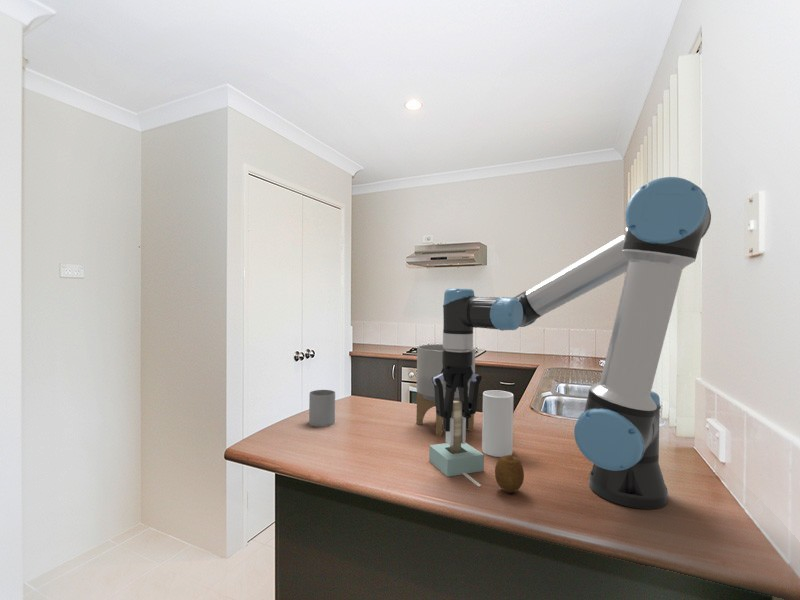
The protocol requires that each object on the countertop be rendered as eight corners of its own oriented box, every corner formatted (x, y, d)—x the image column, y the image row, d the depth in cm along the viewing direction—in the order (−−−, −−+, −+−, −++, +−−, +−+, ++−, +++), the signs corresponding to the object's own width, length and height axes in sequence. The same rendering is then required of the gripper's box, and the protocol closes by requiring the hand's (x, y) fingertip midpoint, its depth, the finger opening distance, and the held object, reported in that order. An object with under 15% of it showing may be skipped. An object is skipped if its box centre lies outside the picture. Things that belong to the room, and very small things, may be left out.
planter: (424, 415, 147) (425, 342, 147) (477, 421, 141) (478, 345, 141) (408, 432, 129) (410, 349, 129) (469, 439, 123) (470, 352, 123)
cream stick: (481, 486, 93) (481, 485, 93) (478, 487, 92) (478, 485, 92) (465, 473, 99) (465, 472, 99) (462, 474, 99) (462, 472, 99)
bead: (483, 470, 101) (483, 454, 101) (447, 476, 97) (447, 459, 97) (463, 455, 110) (463, 440, 110) (429, 460, 107) (429, 445, 107)
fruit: (488, 491, 91) (489, 454, 90) (504, 482, 95) (504, 447, 95) (514, 501, 86) (515, 463, 86) (529, 491, 90) (529, 455, 90)
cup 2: (513, 458, 109) (514, 398, 109) (481, 455, 111) (482, 396, 111) (511, 447, 117) (512, 391, 117) (482, 444, 119) (483, 389, 119)
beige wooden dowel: (462, 467, 103) (464, 403, 103) (452, 468, 102) (454, 404, 102) (457, 462, 106) (458, 400, 106) (447, 464, 105) (448, 401, 105)
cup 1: (308, 419, 140) (308, 390, 140) (332, 418, 142) (333, 389, 142) (310, 427, 132) (311, 396, 132) (336, 425, 134) (336, 394, 134)
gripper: (476, 347, 110) (474, 434, 110) (422, 348, 104) (420, 441, 105) (492, 351, 103) (490, 444, 103) (435, 353, 97) (433, 452, 98)
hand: (455, 442), depth 104 cm, fingers closed on beige wooden dowel, 3 cm apart
